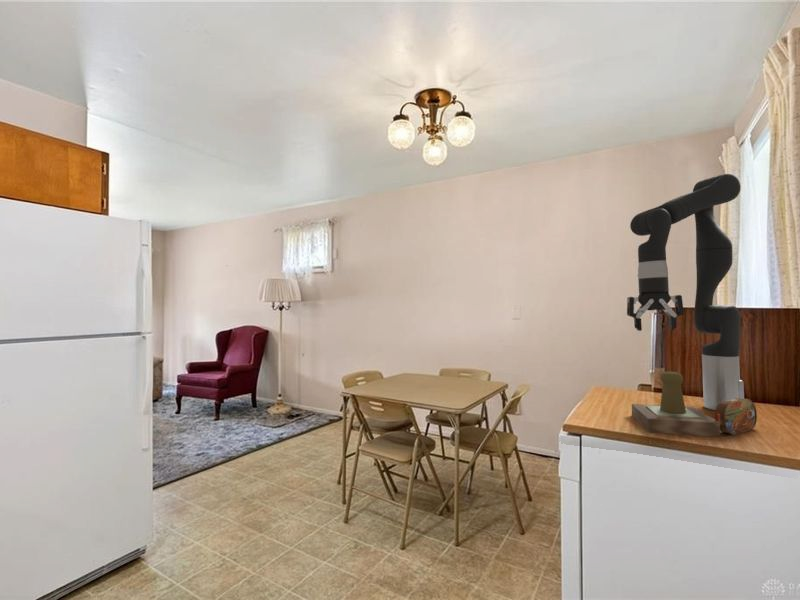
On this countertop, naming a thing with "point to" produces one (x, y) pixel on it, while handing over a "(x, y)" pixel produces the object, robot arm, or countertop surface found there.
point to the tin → (736, 415)
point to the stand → (675, 421)
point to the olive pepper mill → (672, 393)
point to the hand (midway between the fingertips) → (655, 330)
